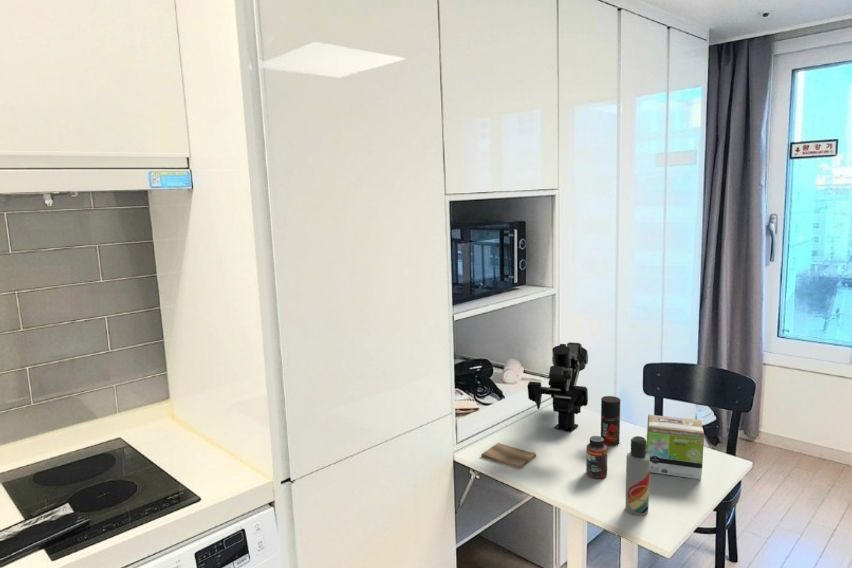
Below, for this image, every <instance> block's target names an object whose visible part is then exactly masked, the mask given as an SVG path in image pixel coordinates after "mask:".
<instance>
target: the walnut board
mask: <svg viewBox="0 0 852 568" xmlns="http://www.w3.org/2000/svg"><path fill="white" fill-rule="evenodd" d="M480 455H481V458H483V459H485V460H486V459H487V460H490V461H493V462H496V463H499V464H502V463H503V464H502V465H505V464H506V465H505V466H509V465H510V466H509V467H512V466H513V468H515V467H516V468H515V469H518V468H519V470H521V469H523V468H524V467H525V466H526V465H527V464H529V463H530V462H532V460H534V459H535V458H536V457H537V453H534V452H532V451H528V450H524V449H521V448H518V447H515V446H510V445H507V444H503V443H501V442H497V443H496V444H494V445H493V446H491V447H490V448H488V449H487V450H485V451H484V452H482V453H481V454H480Z"/></svg>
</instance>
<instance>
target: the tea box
mask: <svg viewBox="0 0 852 568" xmlns="http://www.w3.org/2000/svg"><path fill="white" fill-rule="evenodd" d="M646 429H647V430H646V441H647V444H646V454H647V455H649V457H650V473H653V474H661V475H668V476H675V477H682V478H688V479H694V480H699V481H700V480H701V479H702V475H703V463H704V462H703V458H704V445H705V444H704V443H705V432H704V429H703V424H702V420H701V419H695V418H694V419H693V418H683V417H675V416H674V417H673V416H665V415H657V414H648V415H647V426H646Z"/></svg>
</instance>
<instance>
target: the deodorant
mask: <svg viewBox="0 0 852 568" xmlns="http://www.w3.org/2000/svg"><path fill="white" fill-rule="evenodd" d="M600 401H601V402H600V405H601V407H600V408H601V409H600V437H602V438H603V439H604V444H605V445H607V446H606V447H617V446H619V445H620V438H621V437H620V434H621V431H620V430H621V398H619V397H617V396H612V395H605V396H602V397H601V398H600ZM618 444H619V445H618ZM616 445H617V446H616Z"/></svg>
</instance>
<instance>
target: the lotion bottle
mask: <svg viewBox="0 0 852 568" xmlns="http://www.w3.org/2000/svg"><path fill="white" fill-rule="evenodd" d="M646 445H647V438H645V437H643V436H638V435H637V436H633V437H631V439H630V452H628V453H626V466H625V467H626V468H625V471H626V472H625V510H626V511H627V512H628V513H630V514H631V515H635V516H645V515H647V514H648V513H649V505H650V503H649V502H650V473H651V472H650V457H649V455H647V454H646Z"/></svg>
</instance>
